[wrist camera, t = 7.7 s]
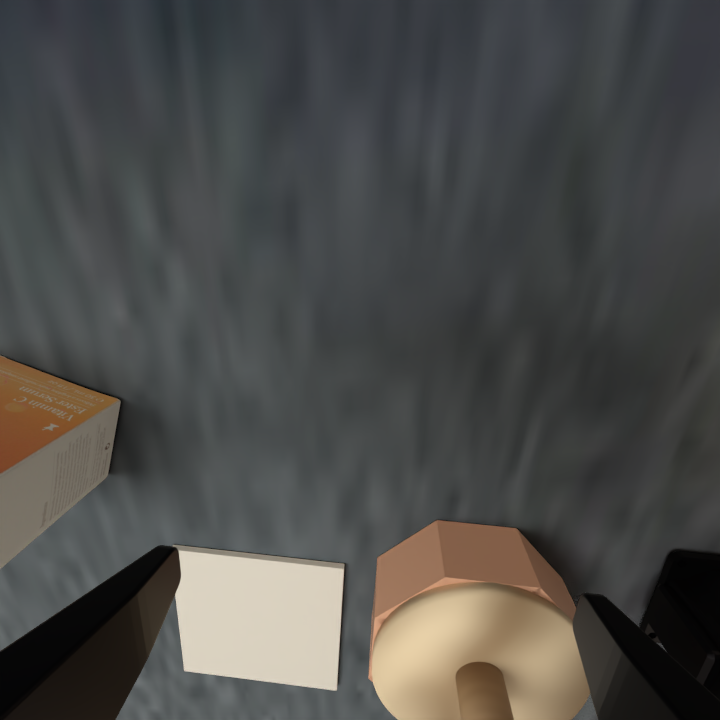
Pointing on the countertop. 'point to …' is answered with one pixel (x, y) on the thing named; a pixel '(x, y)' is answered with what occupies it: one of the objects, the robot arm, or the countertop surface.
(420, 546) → the bowl
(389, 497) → the countertop surface
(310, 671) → the mat
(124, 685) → the robot arm
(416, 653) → the lid
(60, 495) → the small box
